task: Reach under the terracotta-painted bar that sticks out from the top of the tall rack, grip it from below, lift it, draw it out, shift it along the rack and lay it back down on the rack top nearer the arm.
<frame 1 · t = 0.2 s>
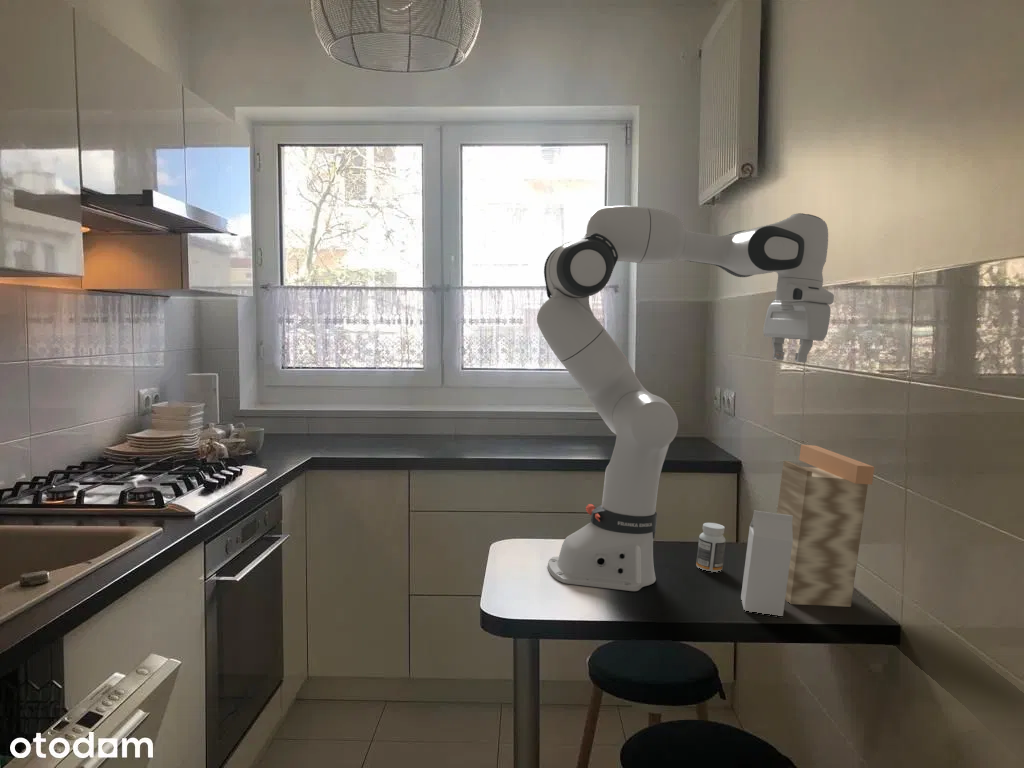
hand: (788, 360, 160), 48 cm above the table, tool pointing down, fingers open, 8 cm apart
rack: (808, 595, 159), on the table
pill bottle: (708, 569, 171), on the table
milk carton: (760, 609, 149), on the table
bar: (833, 471, 159), point 26 cm above the table, touching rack
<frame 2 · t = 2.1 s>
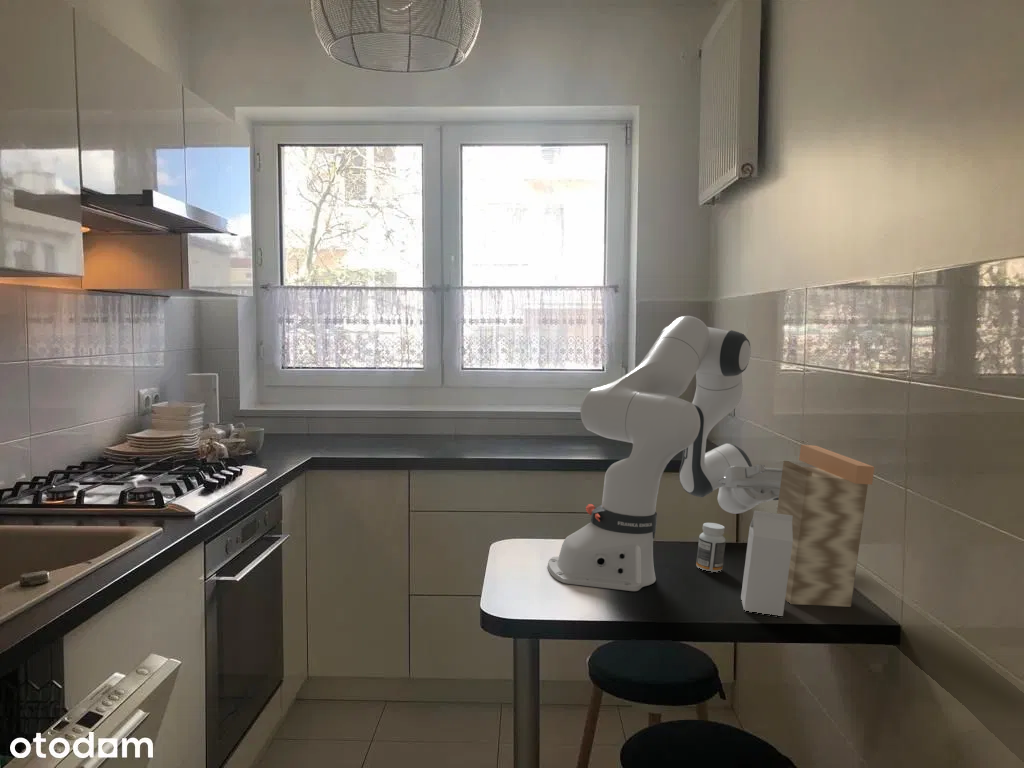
hand: (780, 468, 181), 22 cm above the table, tool pointing upward, fingers open, 8 cm apart
nothing on the table moved.
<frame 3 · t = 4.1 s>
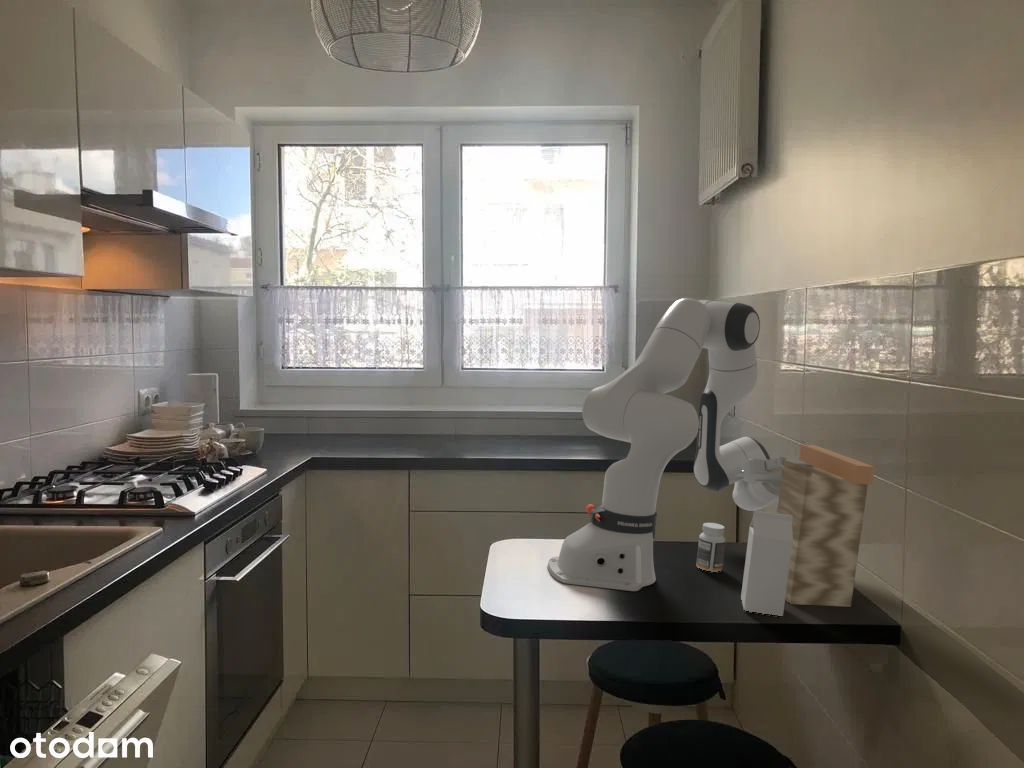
hand: (803, 461, 171), 25 cm above the table, tool pointing upward, fingers open, 8 cm apart
nothing on the table moved.
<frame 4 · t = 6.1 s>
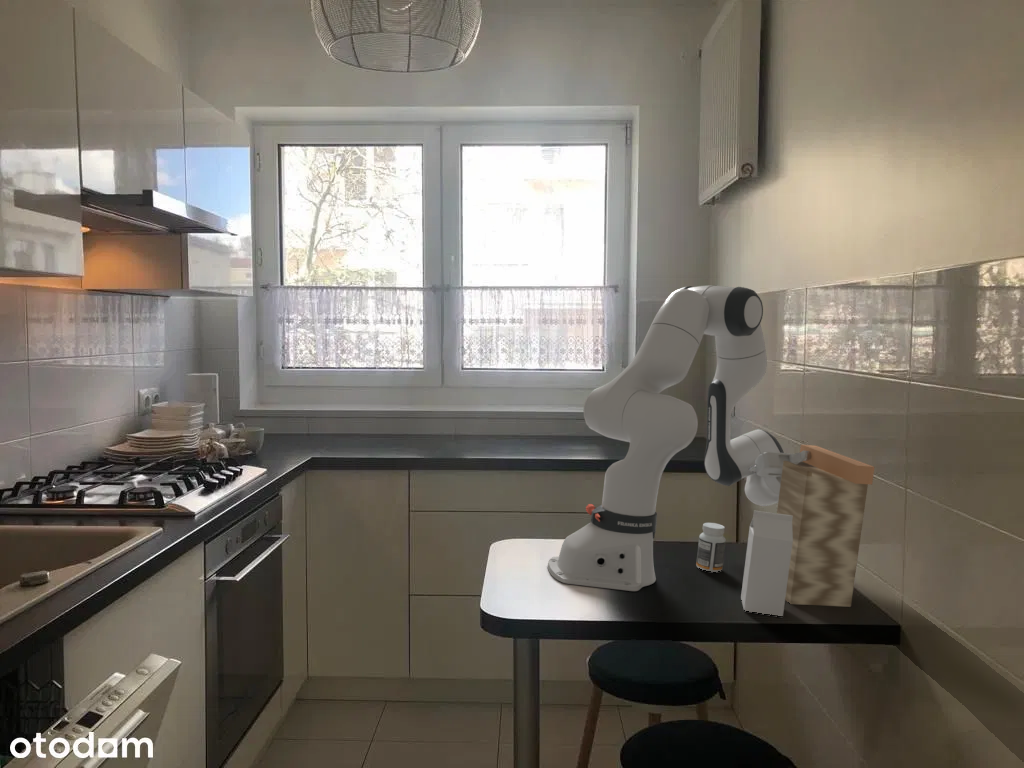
hand: (818, 454, 165), 28 cm above the table, tool pointing upward, fingers closed on bar, 3 cm apart
bar: (833, 471, 159), point 26 cm above the table, touching gripper, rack
everything else where it was.
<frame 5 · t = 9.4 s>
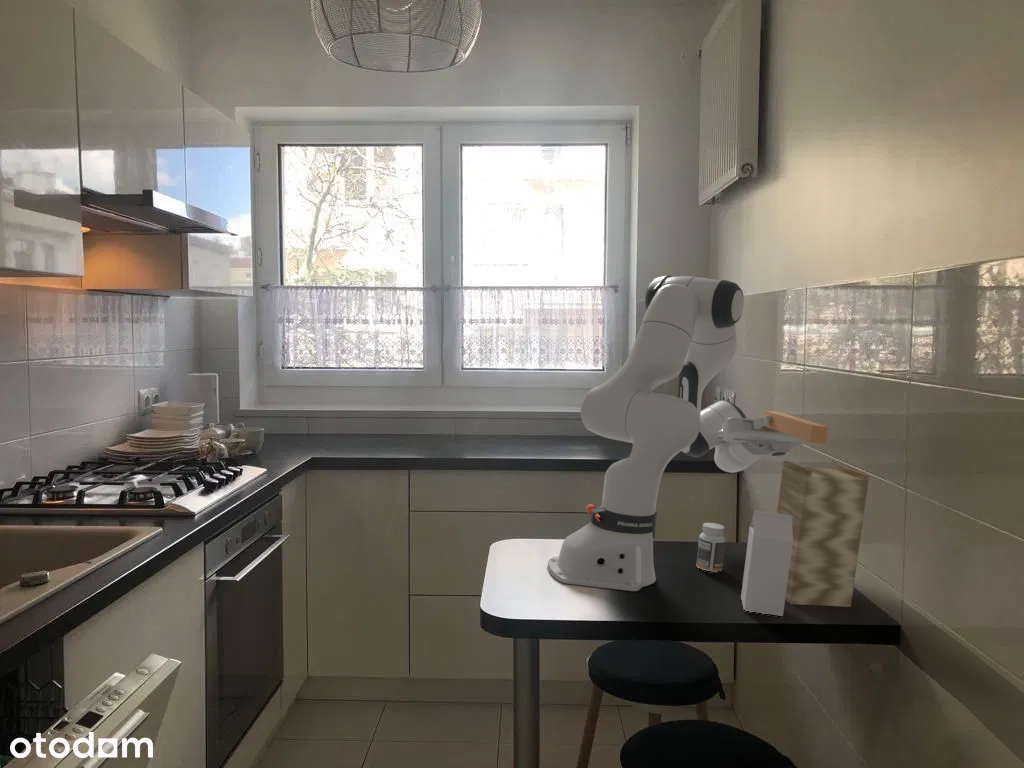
hand: (780, 419, 174), 34 cm above the table, tool pointing upward, fingers closed on bar, 3 cm apart
bar: (791, 433, 168), point 32 cm above the table, touching gripper
everything else where it was.
when the fingers open (30 cm above the table, at t = 12.6 s): bar drops 2 cm, resting on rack.
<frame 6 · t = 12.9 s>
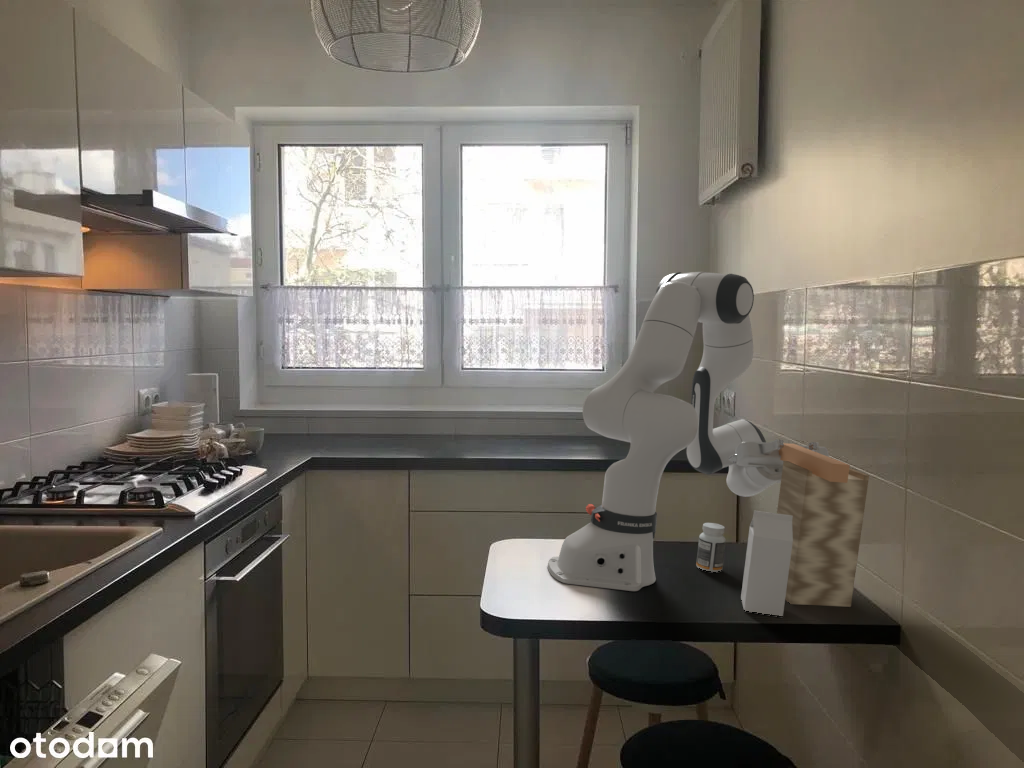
hand: (798, 444, 164), 30 cm above the table, tool pointing upward, fingers open, 7 cm apart
bar: (809, 469, 158), point 26 cm above the table, touching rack
everything else where it was.
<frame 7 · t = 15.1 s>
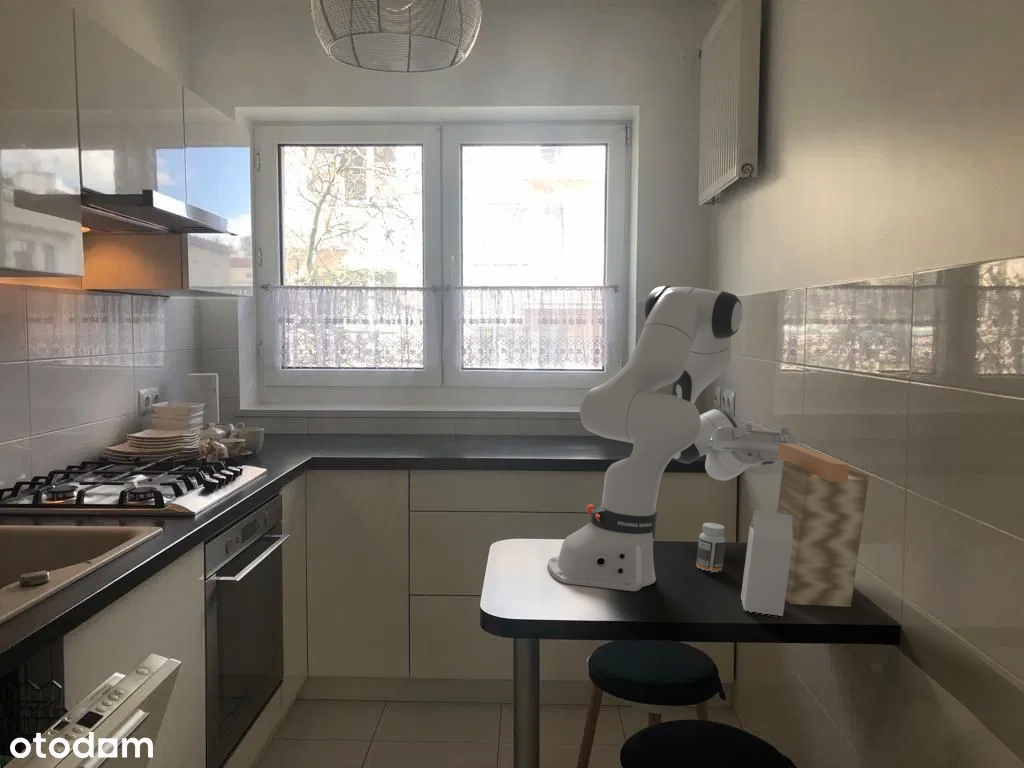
hand: (768, 429, 177), 31 cm above the table, tool pointing upward, fingers open, 8 cm apart
nothing on the table moved.
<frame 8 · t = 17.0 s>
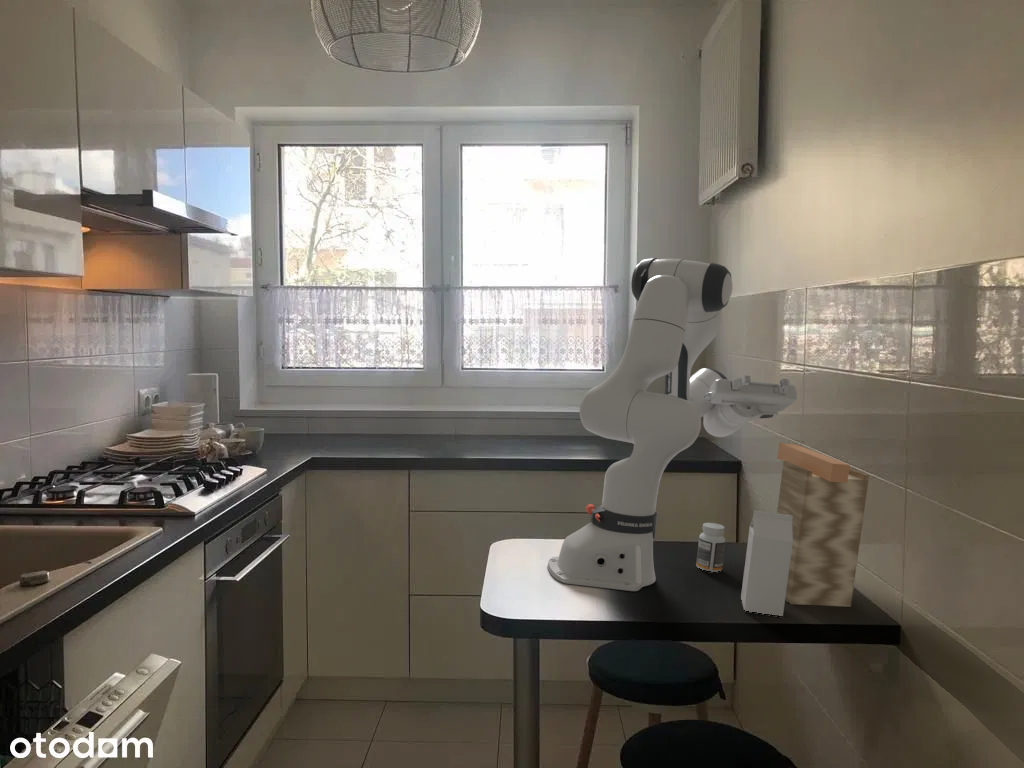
hand: (767, 380, 176), 42 cm above the table, tool pointing upward, fingers open, 8 cm apart
nothing on the table moved.
at the end: bar 0.1 cm from the target spot on the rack, point 26.0 cm above the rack's base; bar moved 5.0 cm from its start; the gripper is holding nothing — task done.
